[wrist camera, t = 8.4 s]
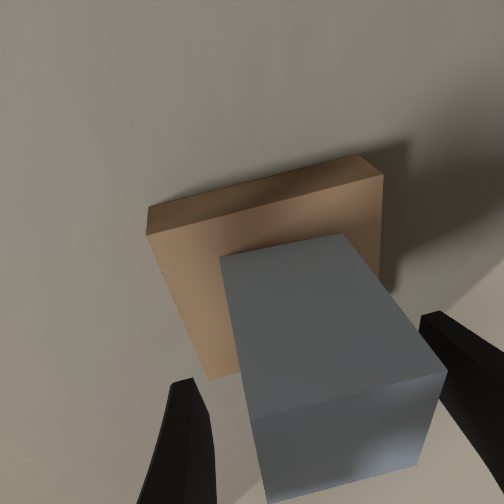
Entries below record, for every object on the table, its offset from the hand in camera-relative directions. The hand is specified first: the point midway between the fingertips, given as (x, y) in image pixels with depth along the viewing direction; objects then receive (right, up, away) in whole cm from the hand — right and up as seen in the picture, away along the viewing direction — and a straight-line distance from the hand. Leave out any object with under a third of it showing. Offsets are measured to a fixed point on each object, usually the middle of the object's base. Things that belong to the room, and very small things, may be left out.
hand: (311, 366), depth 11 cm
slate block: (-1, +2, +3) cm, 4 cm away
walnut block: (-1, +3, +5) cm, 6 cm away
